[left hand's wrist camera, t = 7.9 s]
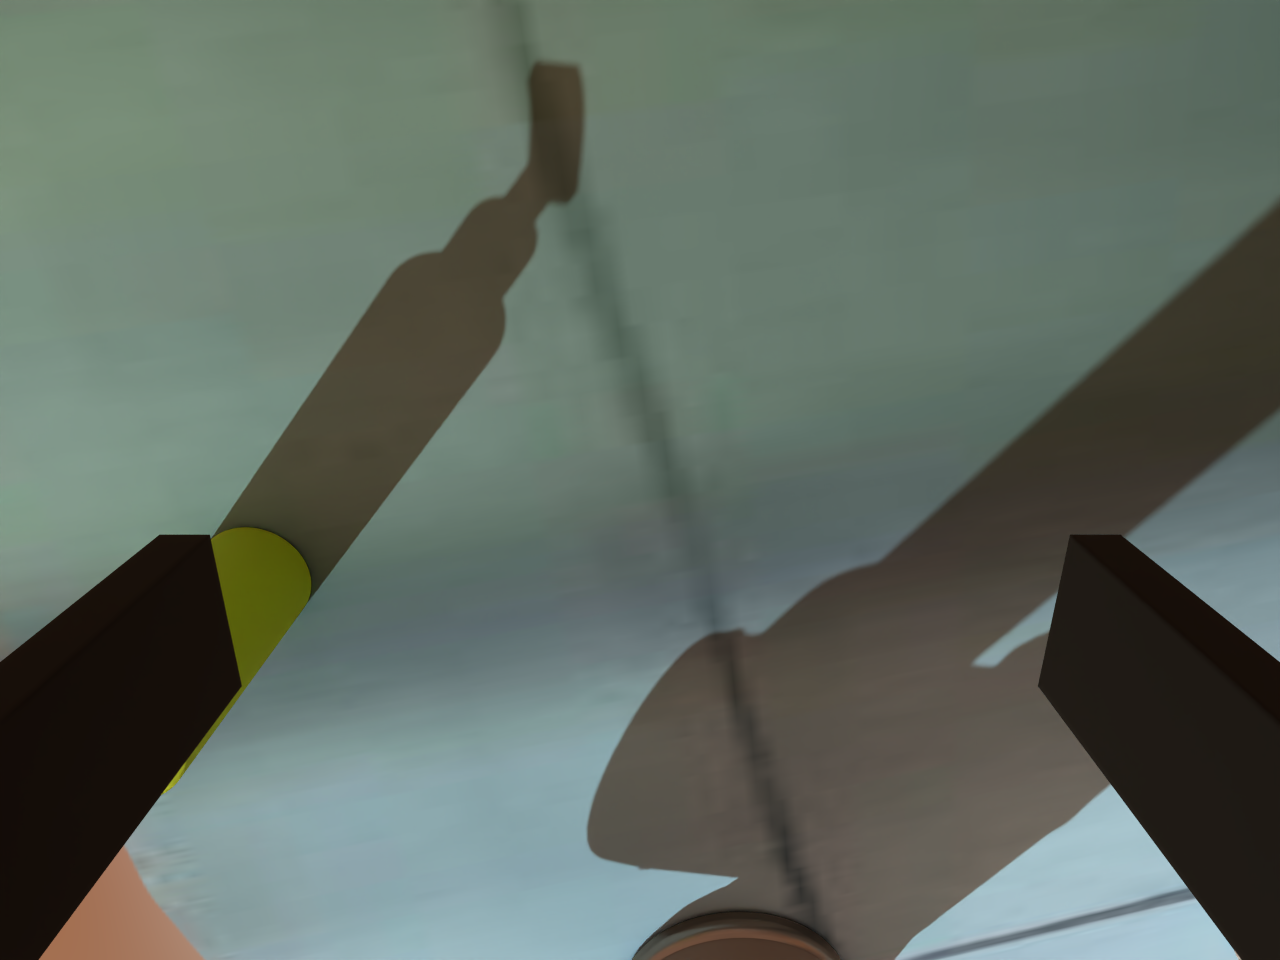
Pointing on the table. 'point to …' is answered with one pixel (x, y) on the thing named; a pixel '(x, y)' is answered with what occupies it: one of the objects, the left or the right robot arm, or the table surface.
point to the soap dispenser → (255, 601)
